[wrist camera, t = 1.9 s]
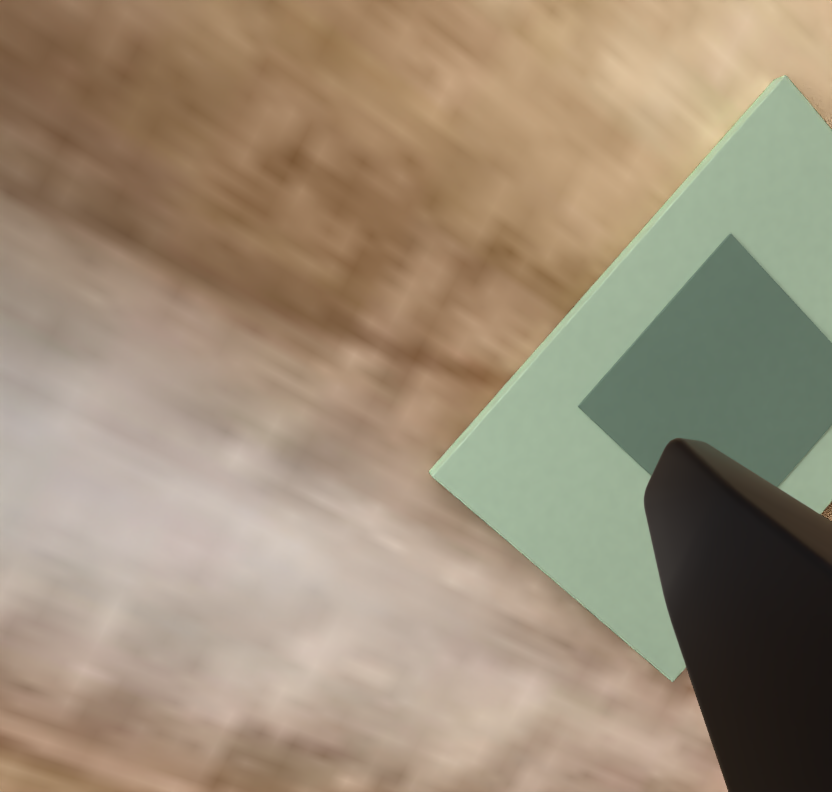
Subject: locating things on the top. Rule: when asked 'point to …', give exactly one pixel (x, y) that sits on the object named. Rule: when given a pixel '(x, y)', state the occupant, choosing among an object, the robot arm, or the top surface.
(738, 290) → the mat
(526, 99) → the top surface
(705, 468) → the robot arm
